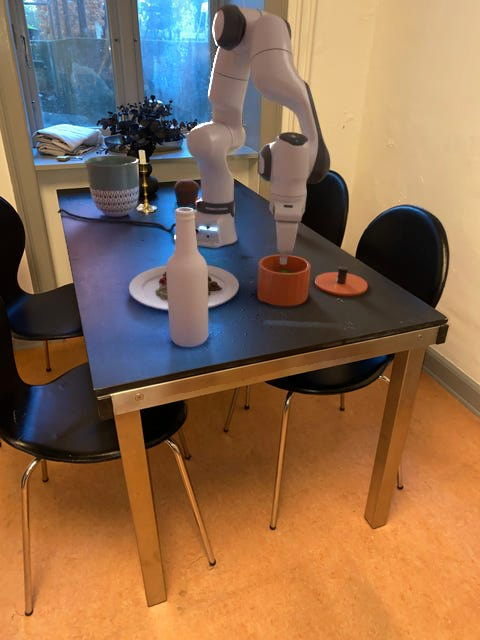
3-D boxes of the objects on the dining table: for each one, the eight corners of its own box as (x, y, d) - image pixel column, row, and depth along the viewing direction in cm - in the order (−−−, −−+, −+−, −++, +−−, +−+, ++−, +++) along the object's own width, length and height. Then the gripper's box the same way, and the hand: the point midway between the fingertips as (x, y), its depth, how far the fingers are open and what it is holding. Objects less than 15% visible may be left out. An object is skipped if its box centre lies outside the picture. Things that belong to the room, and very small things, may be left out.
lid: (317, 296, 128) (319, 277, 125) (312, 275, 140) (314, 256, 138) (371, 299, 127) (374, 279, 124) (362, 277, 140) (364, 259, 137)
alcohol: (212, 345, 105) (211, 214, 90) (173, 350, 102) (166, 217, 88) (203, 326, 112) (201, 202, 97) (167, 331, 110) (159, 204, 95)
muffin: (169, 204, 204) (168, 181, 199) (179, 198, 213) (178, 176, 208) (194, 207, 201) (194, 183, 196) (204, 200, 210) (203, 178, 205)
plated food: (195, 328, 111) (195, 315, 110) (105, 296, 125) (104, 285, 123) (258, 284, 134) (259, 273, 132) (176, 261, 147) (176, 251, 146)
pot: (256, 306, 122) (258, 273, 117) (257, 284, 134) (259, 253, 129) (308, 308, 121) (312, 275, 117) (305, 286, 133) (308, 255, 128)
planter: (117, 225, 177) (111, 167, 167) (81, 216, 186) (73, 161, 175) (152, 213, 192) (148, 159, 181) (117, 205, 201) (111, 153, 190)
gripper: (274, 192, 124) (270, 241, 131) (274, 215, 106) (270, 271, 113) (298, 193, 124) (293, 243, 131) (302, 217, 106) (296, 272, 113)
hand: (282, 256), depth 122 cm, fingers open, 8 cm apart
